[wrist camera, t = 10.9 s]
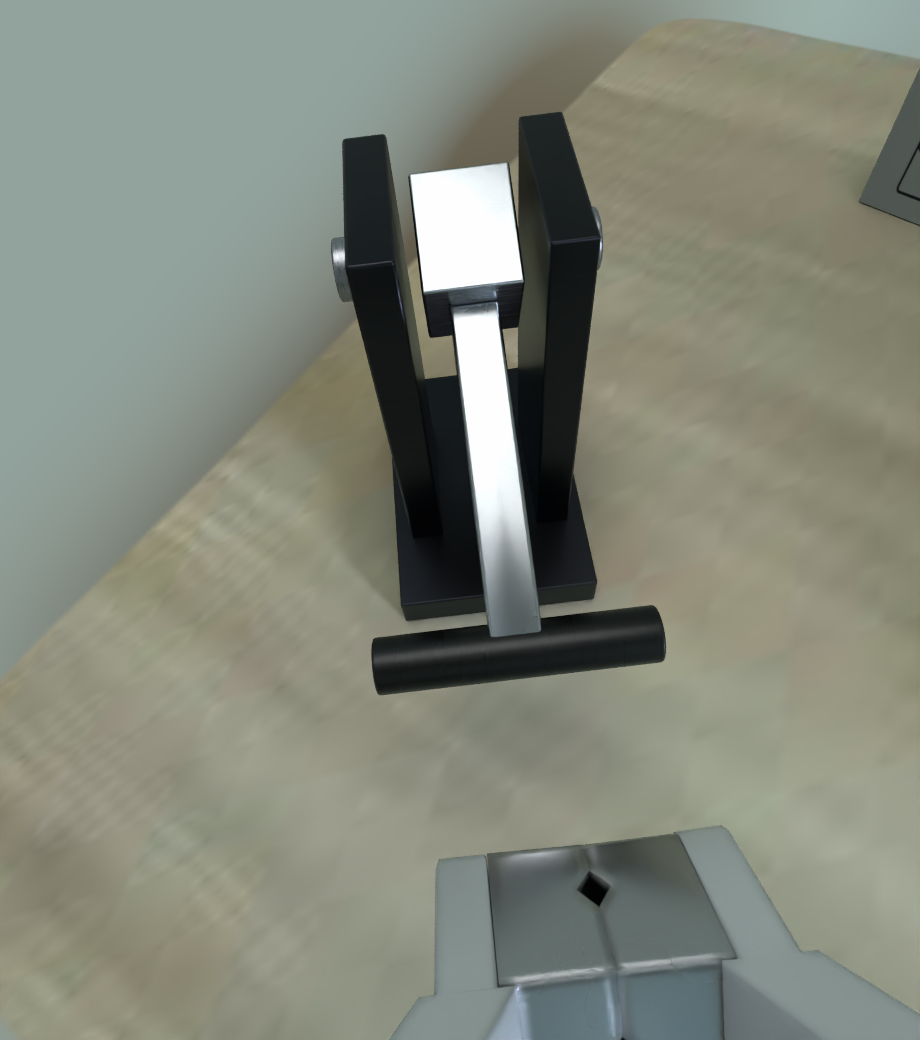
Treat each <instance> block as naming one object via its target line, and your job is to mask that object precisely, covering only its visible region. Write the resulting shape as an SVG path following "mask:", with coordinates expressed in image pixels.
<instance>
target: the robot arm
mask: <svg viewBox="0 0 920 1040" xmlns="http://www.w3.org/2000/svg"><path fill="white" fill-rule="evenodd" d="M487 861H488V865H487ZM389 1040H920V1014H918V1013H917V1012H915V1011H914V1010H912V1009H910V1008H909V1007H907V1006H906V1005H904V1004H903V1003H901V1002H899V1001H898V1000H896V999H895V998H893V997H891V996H890V995H888V994H887V993H885V992H884V991H882V990H880V989H879V988H877V987H876V986H874V985H872V984H871V983H869V982H868V981H866V980H865V979H863V978H861V977H860V976H858V975H857V974H855V973H853V972H852V971H850V970H849V969H847V968H846V967H844V966H842V965H841V964H839V963H838V962H836V961H834V960H833V959H831V958H830V957H828V956H826V955H825V954H823V953H822V952H820V951H819V950H814V951H805V952H802V951H801V950H800V948H799V946H798V945H797V943H796V941H795V940H794V938H793V937H792V935H791V933H790V932H789V930H788V928H787V927H786V925H785V923H784V922H783V920H782V918H781V917H780V915H779V913H778V912H777V910H776V908H775V907H774V905H773V903H772V902H771V900H770V898H769V897H768V895H767V893H766V892H765V890H764V888H763V887H762V885H761V883H760V882H759V880H758V878H757V877H756V875H755V873H754V872H753V870H752V868H751V867H750V865H749V863H748V862H747V860H746V858H745V857H744V855H743V853H742V852H741V850H740V848H739V847H738V845H737V843H736V842H735V840H734V838H733V837H732V835H731V833H730V832H729V830H727V829H726V828H724V827H723V826H721V825H720V826H713V827H706V828H699V829H692V830H685V831H678V832H674V834H666V835H658V836H650V837H642V838H634V839H626V840H618V841H610V842H602V843H594V844H586V845H573V846H563V847H552V848H542V849H531V850H521V851H510V852H499V853H489V854H487V859H486V856H485V855H475V856H465V857H455V858H446V859H439V860H438V864H437V867H436V891H435V980H434V995H433V996H425V997H419V998H418V999H417V1000H416V1002H415V1003H414V1005H413V1006H412V1008H411V1009H410V1010H409V1012H408V1013H407V1015H406V1016H405V1018H404V1019H403V1020H402V1022H401V1023H400V1025H399V1026H398V1028H397V1029H396V1031H395V1032H394V1033H393V1035H392V1036H391V1038H390V1039H389Z"/></svg>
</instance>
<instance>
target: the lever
mask: <svg viewBox="0 0 920 1040" xmlns="http://www.w3.org/2000/svg"><path fill="white" fill-rule="evenodd" d="M408 178H409V186H410V195H411V203H412V212H413V221H414V230H415V238H416V247H417V256H418V264H419V273H420V281H421V290H422V297H423V303H424V309H425V315H426V321H427V327H428V333H429V336H430V337H431V338H433V337H442V336H450V335H452V338H453V346H454V355H455V363H456V371H457V379H458V388H459V396H460V404H461V412H462V420H463V429H464V437H465V445H466V453H467V462H468V470H469V478H470V486H471V495H472V503H473V511H474V519H475V528H476V536H477V544H478V552H479V561H480V569H481V577H482V585H483V593H484V602H485V610H486V618H487V625H480V626H471V627H463V628H454V629H446V630H437V631H429V632H420V633H412V634H404V635H395V636H387V637H378V638H374V639H373V642H372V651H371V655H372V670H373V678H374V683H375V688H376V691H377V693H378V694H379V695H388V694H396V693H405V692H413V691H422V690H430V689H439V688H447V687H456V686H464V685H473V684H481V683H490V682H498V681H507V680H515V679H523V678H532V677H540V676H549V675H557V674H566V673H574V672H583V671H591V670H600V669H608V668H617V667H625V666H634V665H642V664H651V663H659V662H662V661H664V659H665V654H666V640H665V632H664V627H663V623H662V620H661V617H660V614H659V612H658V610H657V608H656V607H655V606H653V605H649V606H640V607H632V608H623V609H615V610H606V611H598V612H589V613H581V614H573V615H564V616H556V617H547V618H541V617H540V610H539V602H538V595H537V587H536V579H535V572H534V564H533V557H532V549H531V542H530V534H529V527H528V519H527V512H526V504H525V496H524V489H523V481H522V474H521V466H520V459H519V451H518V444H517V436H516V428H515V421H514V413H513V406H512V398H511V391H510V383H509V376H508V368H507V361H506V353H505V345H504V338H503V330H502V329H508V328H516V327H518V326H519V321H520V313H521V306H522V299H523V292H524V284H525V275H524V268H523V261H522V254H521V247H520V240H519V232H518V225H517V218H516V211H515V204H514V196H513V189H512V182H511V175H510V168H509V164H508V162H502V163H494V164H486V165H478V166H470V167H461V168H453V169H445V170H438V171H428V172H421V173H412V174H410V175H409V177H408Z"/></svg>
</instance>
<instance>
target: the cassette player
mask: <svg viewBox="0 0 920 1040" xmlns="http://www.w3.org/2000/svg"><path fill="white" fill-rule="evenodd" d="M859 202H862V203H865V204H867V205H870V206H872V207H875V208H877V209H880V210H882V211H885V212H887V213H890V214H893V215H895V216H898V217H900V218H903V219H905V220H908V221H910V222H913V223H916V224H918V225H920V69H919V71H918V73H917V75H916V77H915V80H914V82H913V84H912V86H911V88H910V90H909V93H908V95H907V97H906V99H905V101H904V104H903V106H902V108H901V110H900V112H899V114H898V117H897V119H896V121H895V123H894V125H893V128H892V130H891V132H890V134H889V136H888V139H887V141H886V143H885V145H884V147H883V149H882V152H881V154H880V156H879V158H878V160H877V163H876V165H875V167H874V169H873V171H872V173H871V176H870V178H869V180H868V182H867V184H866V187H865V189H864V191H863V193H862V195H861V198H860V200H859Z"/></svg>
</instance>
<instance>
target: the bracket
mask: <svg viewBox="0 0 920 1040" xmlns="http://www.w3.org/2000/svg"><path fill="white" fill-rule="evenodd" d="M342 150H343V151H342V155H343V200H344V237H339V238H333V239H332V242H331V254H332V264H333V270H334V275H335V281H336V286H337V290H338V293H339V296H340V298H341V300H342V301H343V302H348V301H353V302H354V307H355V311H356V315H357V319H358V323H359V327H360V331H361V335H362V339H363V342H364V346H365V350H366V354H367V358H368V362H369V366H370V370H371V374H372V378H373V382H374V386H375V390H376V394H377V398H378V402H379V406H380V410H381V414H382V418H383V422H384V426H385V430H386V434H387V438H388V442H389V446H390V450H391V454H392V465H393V481H394V498H395V515H396V531H397V548H398V564H399V581H400V597H401V607H402V610H403V613H404V616H405V619H406V620H407V621H410V620H418V619H427V618H435V617H443V616H452V615H460V614H469V613H477V612H486V610H485V602H484V593H483V585H482V577H481V569H480V561H479V552H478V544H477V536H476V528H475V519H474V511H473V503H472V495H471V486H470V478H469V470H468V462H467V453H466V445H465V437H464V429H463V420H462V412H461V404H460V396H459V388H458V379H457V375H455V376H447V377H439V378H430V379H425V376H424V370H423V364H422V358H421V351H420V345H419V339H418V333H417V326H416V320H415V314H414V308H413V301H412V295H411V289H410V283H409V276H408V270H407V264H406V259H405V251H404V245H403V239H402V233H401V227H400V220H399V214H398V208H397V201H396V196H395V189H394V183H393V177H392V170H391V164H390V158H389V152H388V146H387V139H386V137H385V135H383V134H380V135H372V136H363V137H356V138H347V139H344V140H343V142H342ZM518 232H519V240H520V247H521V254H522V261H523V268H524V275H525V284H524V292H523V299H522V306H521V313H520V321H519V326H518V368H513V369H508V376H509V383H510V391H511V398H512V406H513V413H514V421H515V428H516V436H517V444H518V451H519V459H520V466H521V474H522V481H523V489H524V496H525V504H526V512H527V519H528V527H529V534H530V542H531V549H532V557H533V564H534V572H535V579H536V587H537V595H538V602H539V605H545V604H553V603H562V602H570V601H579V600H587V599H593V598H594V594H595V590H596V585H597V578H596V574H595V569H594V565H593V560H592V556H591V551H590V547H589V542H588V538H587V533H586V529H585V524H584V520H583V515H582V510H581V506H580V501H579V497H578V492H577V488H576V483H575V479H574V474H573V469H574V461H575V452H576V444H577V435H578V427H579V419H580V410H581V402H582V394H583V385H584V377H585V368H586V360H587V352H588V343H589V335H590V327H591V318H592V310H593V301H594V293H595V285H596V276H597V271H598V270H599V268H600V265H601V261H602V253H603V236H602V226H601V220H600V216H599V213H598V210H597V208H596V207H592V206H591V203H590V200H589V197H588V194H587V190H586V187H585V184H584V181H583V177H582V174H581V171H580V168H579V165H578V161H577V158H576V155H575V152H574V148H573V145H572V142H571V139H570V136H569V132H568V129H567V126H566V123H565V119H564V116H563V113H562V112H555V113H547V114H540V115H531V116H523V117H520V118H519V205H518Z"/></svg>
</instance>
